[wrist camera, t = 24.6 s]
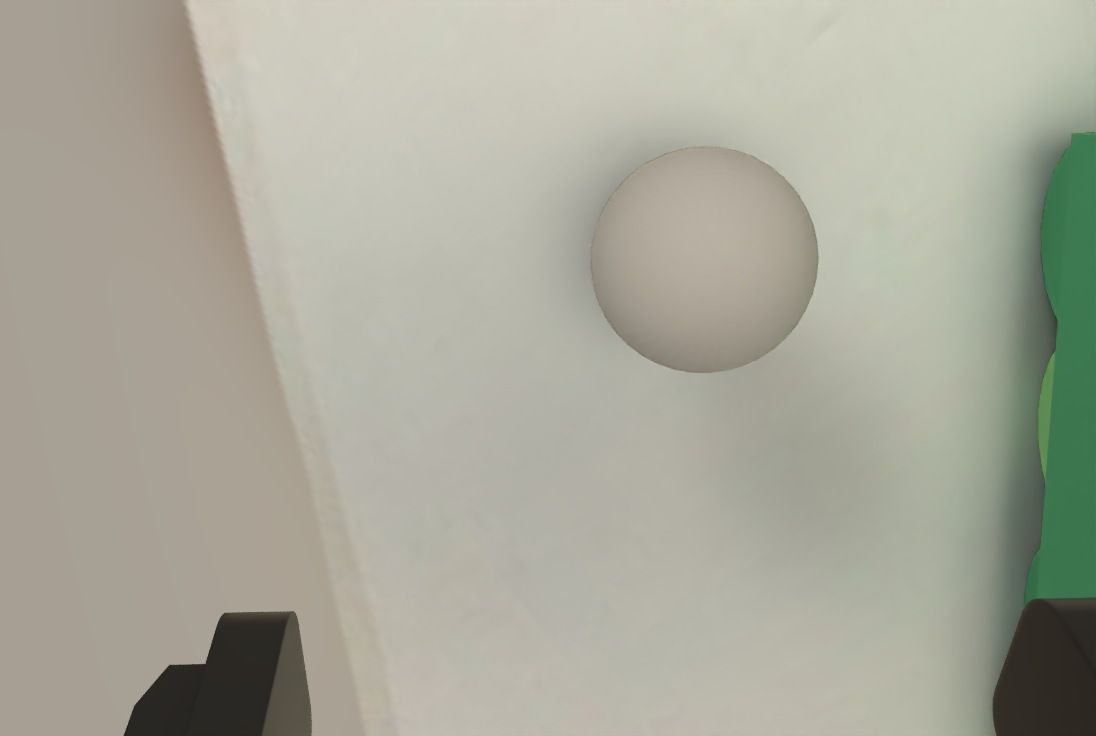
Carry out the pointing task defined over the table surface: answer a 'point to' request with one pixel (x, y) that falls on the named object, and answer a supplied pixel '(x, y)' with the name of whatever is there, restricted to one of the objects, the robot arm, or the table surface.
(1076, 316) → the toy tank
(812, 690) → the table surface
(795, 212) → the light bulb
